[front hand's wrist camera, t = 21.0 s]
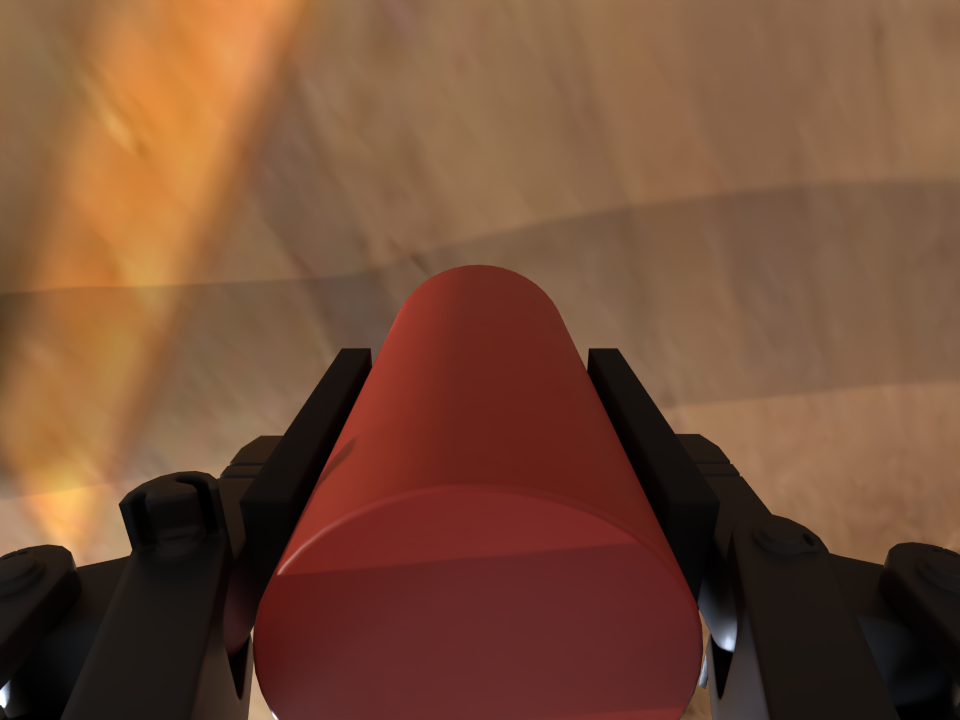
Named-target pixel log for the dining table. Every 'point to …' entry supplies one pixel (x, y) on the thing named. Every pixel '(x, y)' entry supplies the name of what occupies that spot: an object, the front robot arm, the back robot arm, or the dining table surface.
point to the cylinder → (478, 537)
